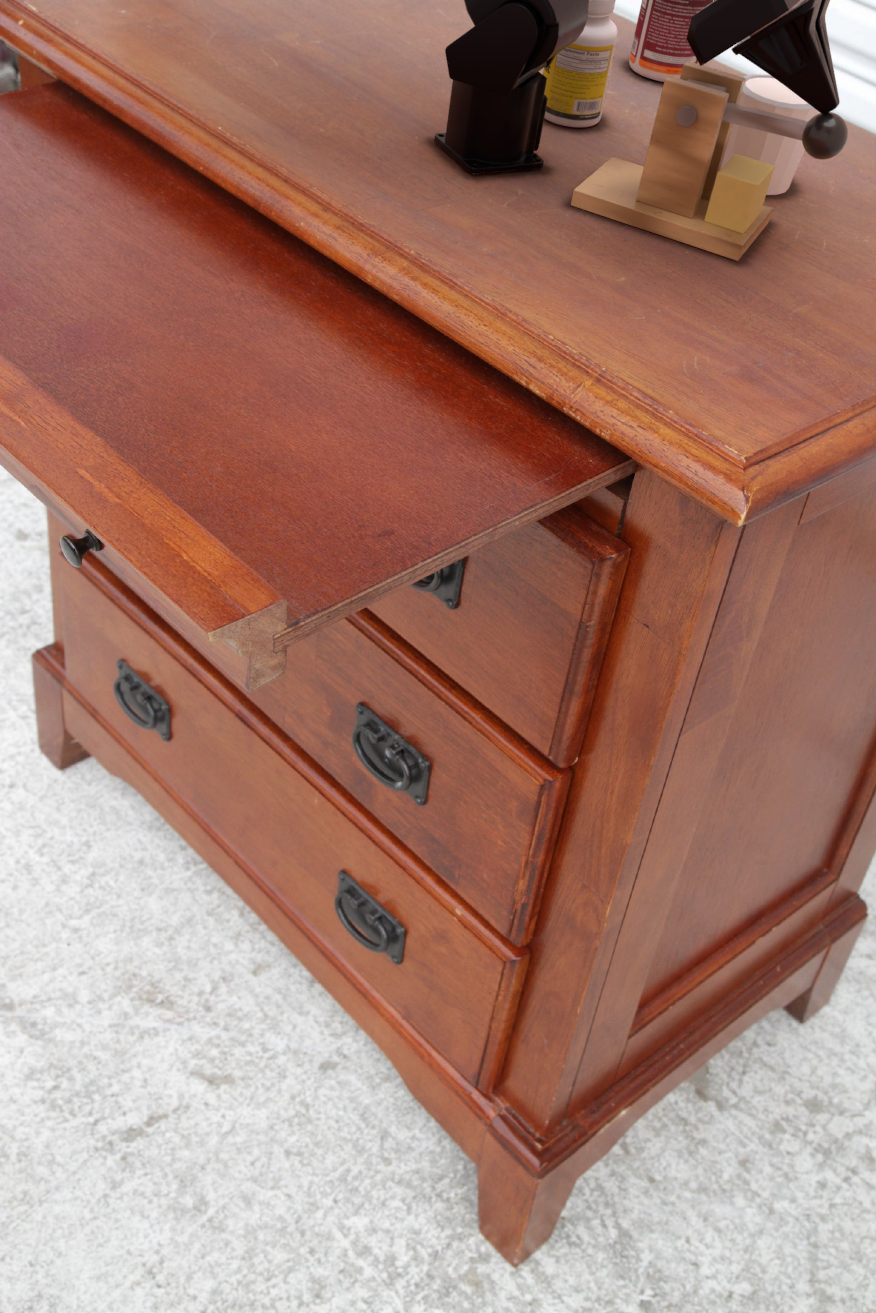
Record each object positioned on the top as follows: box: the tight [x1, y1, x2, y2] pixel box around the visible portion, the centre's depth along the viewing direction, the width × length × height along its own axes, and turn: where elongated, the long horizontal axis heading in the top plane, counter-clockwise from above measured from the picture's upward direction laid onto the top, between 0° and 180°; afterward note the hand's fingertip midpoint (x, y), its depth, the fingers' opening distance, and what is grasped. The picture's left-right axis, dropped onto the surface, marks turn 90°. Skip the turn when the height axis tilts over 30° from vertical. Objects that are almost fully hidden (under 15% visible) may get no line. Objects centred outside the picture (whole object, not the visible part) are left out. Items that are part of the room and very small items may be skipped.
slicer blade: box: [687, 79, 849, 160], centre depth 89 cm, size 12×3×3 cm, turn 63°
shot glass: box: [720, 73, 820, 196], centre depth 100 cm, size 7×7×7 cm
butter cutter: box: [570, 61, 774, 262], centre depth 92 cm, size 13×8×10 cm, turn 63°
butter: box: [704, 154, 775, 234], centre depth 92 cm, size 4×3×4 cm
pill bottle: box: [628, 0, 714, 83], centre depth 115 cm, size 6×6×11 cm
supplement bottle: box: [542, 0, 619, 128], centre depth 104 cm, size 5×5×10 cm
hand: (831, 110), depth 86 cm, fingers closed, pressing on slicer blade
